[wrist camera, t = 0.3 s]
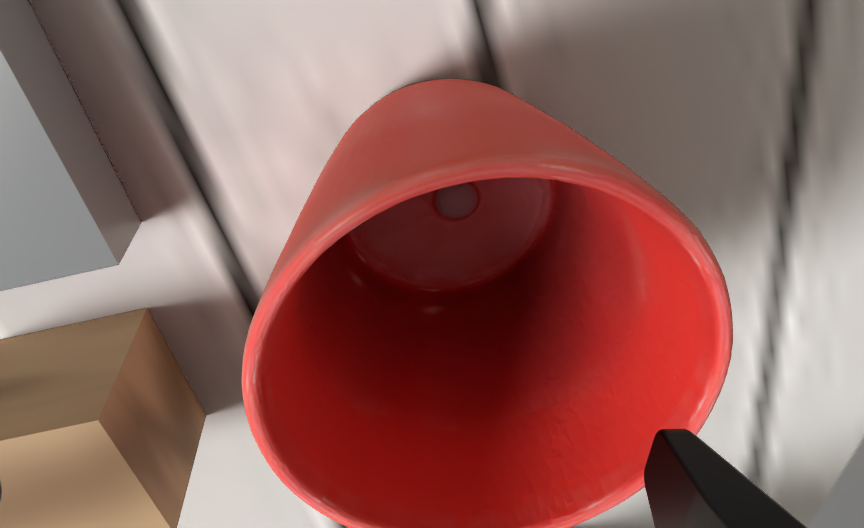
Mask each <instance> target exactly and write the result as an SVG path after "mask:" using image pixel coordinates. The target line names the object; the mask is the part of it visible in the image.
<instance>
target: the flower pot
mask: <svg viewBox="0 0 864 528" xmlns="http://www.w3.org/2000/svg"><path fill="white" fill-rule="evenodd" d="M732 344H733V324H732V311H731V304H730V298H729V293H728V289H727V285H726V281H725V278H724V275H723V273H722V270H721V268H720V266H719V264H718V261H717V259H716V257H715V256H714V254H713V252H712V250H711V248H710V246H709V245H708V243H707V242H706V240H705V239H704V237H703V236H702V234H701V233H700V231H699V230H698V229H697V228H696V227H695V226H694V225H693V223H692V222H691V221H690V220H689V219H688V218H687V217H686V216H685V215H684V214H683V213H682V212H681V211H680V210H679V209H678V208H677V207H676V206H675V205H674V204H673V203H672V202H671V201H669V200H668V199H667V198H666V197H665V196H664V195H662V194H661V193H660V192H659V191H657V190H656V189H655V188H653V187H652V186H651V185H650V184H648V183H647V182H646V181H644V180H643V179H642V178H641V177H639V176H638V175H637V174H635V173H634V172H633V171H632V170H630V169H629V168H628V167H626V166H625V165H624V164H622V163H621V162H620V161H618V160H617V159H615V158H614V157H613V156H611V155H610V154H608V153H607V152H605V151H604V150H602V149H601V148H600V147H598V146H597V145H595V144H594V143H592V142H591V141H589V140H588V139H586V138H585V137H583V136H582V135H580V134H579V133H577V132H576V131H574V130H572V129H571V128H569V127H568V126H566V125H565V124H563V123H562V122H560V121H558V120H557V119H555V118H553V117H551V116H549V115H548V114H546V113H544V112H542V111H541V110H539V109H537V108H535V107H534V106H532V105H530V104H528V103H527V102H525V101H523V100H522V99H520V98H518V97H516V96H515V95H513V94H511V93H509V92H507V91H505V90H503V89H501V88H498V87H496V86H493V85H490V84H486V83H482V82H478V81H473V80H466V79H439V80H430V81H425V82H420V83H416V84H413V85H410V86H407V87H404V88H401V89H399V90H397V91H395V92H393V93H391V94H389V95H387V96H386V97H384V98H382V99H381V100H379V101H378V102H376V103H375V104H374V105H372V106H371V107H370V108H369V109H368V110H366V111H365V112H364V113H363V114H362V115H361V116H360V117H358V119H357V120H356V121H355V122H354V123H353V124H352V126H351V127H350V128H349V129H348V131H347V132H346V133H345V135H344V136H343V138H342V139H341V141H340V142H339V144H338V146H337V147H336V149H335V150H334V152H333V154H332V155H331V157H330V158H329V160H328V162H327V163H326V165H325V167H324V169H323V171H322V172H321V174H320V176H319V178H318V180H317V182H316V184H315V186H314V188H313V190H312V192H311V194H310V196H309V198H308V200H307V202H306V203H305V205H304V207H303V209H302V211H301V213H300V215H299V217H298V219H297V222H296V224H295V226H294V228H293V230H292V232H291V234H290V236H289V238H288V240H287V242H286V245H285V247H284V249H283V251H282V253H281V255H280V257H279V259H278V261H277V263H276V265H275V268H274V270H273V272H272V274H271V276H270V279H269V281H268V283H267V285H266V288H265V290H264V292H263V294H262V296H261V299H260V301H259V304H258V306H257V309H256V311H255V313H254V316H253V319H252V322H251V325H250V328H249V331H248V335H247V339H246V343H245V348H244V354H243V363H242V394H243V401H244V406H245V412H246V416H247V419H248V422H249V425H250V428H251V431H252V434H253V436H254V439H255V441H256V443H257V445H258V447H259V449H260V451H261V453H262V454H263V456H264V458H265V459H266V461H267V463H268V464H269V466H270V467H271V468H272V470H273V471H274V472H275V473H276V475H277V476H278V477H279V478H280V480H281V481H282V482H283V483H284V484H285V485H286V486H287V487H288V488H289V489H290V490H291V491H292V492H293V493H294V494H296V495H297V496H298V497H299V498H300V499H302V500H303V501H304V502H306V503H307V504H308V505H310V506H311V507H312V508H314V509H316V510H317V511H319V512H320V513H322V514H324V515H325V516H327V517H329V518H331V519H332V520H334V521H336V522H338V523H340V524H342V525H345V526H347V527H349V528H570V527H572V526H575V525H577V524H580V523H582V522H584V521H586V520H589V519H591V518H593V517H595V516H597V515H599V514H601V513H603V512H605V511H607V510H609V509H611V508H613V507H614V506H616V505H618V504H620V503H621V502H623V501H625V500H626V499H628V498H629V497H631V496H632V495H634V494H635V493H637V492H638V491H639V490H641V489H642V488H644V487H645V483H644V469H645V465H646V462H647V459H648V456H649V453H650V449H651V446H652V443H653V440H654V437H655V434H656V433H657V432H658V431H659V430H661V429H687V430H689V431H691V432H692V433H694V434H695V435H697V434H698V432H699V431H700V429H701V428H702V426H703V425H704V423H705V421H706V420H707V418H708V416H709V414H710V413H711V411H712V409H713V407H714V405H715V403H716V400H717V398H718V396H719V394H720V392H721V389H722V386H723V383H724V381H725V378H726V375H727V371H728V367H729V363H730V359H731V351H732Z"/></svg>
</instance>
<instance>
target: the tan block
mask: <svg viewBox="0 0 864 528" xmlns="http://www.w3.org/2000/svg"><path fill="white" fill-rule="evenodd" d="M205 417H206V415H205V413H204V411H203V409H202V407H201V406H200V404H199V402H198V400H197V398H196V396H195V395H194V393H193V391H192V389H191V387H190V385H189V384H188V382H187V380H186V378H185V376H184V374H183V373H182V371H181V369H180V367H179V365H178V363H177V362H176V360H175V358H174V356H173V354H172V352H171V351H170V349H169V347H168V345H167V343H166V342H165V340H164V338H163V336H162V334H161V332H160V331H159V329H158V327H157V325H156V323H155V321H154V320H153V318H152V316H151V314H150V312H149V310H148V309H147V308H143V309H139V310H134V311H130V312H125V313H121V314H116V315H111V316H107V317H102V318H98V319H93V320H88V321H84V322H79V323H75V324H70V325H66V326H61V327H56V328H52V329H47V330H43V331H38V332H33V333H29V334H24V335H20V336H15V337H11V338H6V339H1V340H0V481H1V485H2V498H1V502H0V528H177V525H178V521H179V517H180V513H181V509H182V506H183V502H184V498H185V494H186V490H187V486H188V483H189V479H190V475H191V471H192V467H193V463H194V460H195V456H196V452H197V448H198V444H199V440H200V437H201V433H202V429H203V425H204V421H205Z"/></svg>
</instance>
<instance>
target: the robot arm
mask: <svg viewBox="0 0 864 528" xmlns="http://www.w3.org/2000/svg"><path fill="white" fill-rule="evenodd" d="M644 483H645V488H646V492H647V496H648V500H649V504H650V508H651V512H652V517H653V521H654V525H655V528H807V527H806V526H804V525H803V524H802V523H801V522H800V521H798V520H797V519H796V518H795V517H794V516H792V515H791V514H790V513H789V512H788V511H786V510H785V509H784V508H783V507H782V506H780V505H779V504H778V503H777V502H776V501H774V500H773V499H772V498H771V497H770V496H768V495H767V494H766V493H765V492H763V491H762V490H761V489H760V488H759V487H757V486H756V485H755V484H754V483H753V482H751V481H750V480H749V479H748V478H747V477H745V476H744V475H743V474H742V473H741V472H739V471H738V470H737V469H736V468H735V467H733V466H732V465H731V464H730V463H729V462H727V461H726V460H725V459H724V458H722V457H721V456H720V455H719V454H718V453H716V452H715V451H714V450H713V449H712V448H710V447H709V446H708V445H707V444H706V443H704V442H703V441H702V440H701V439H700V438H698V437H697V436H696V435H695V434H694V433H692V432H691V431H689V430H687V429H661V430H659V431H658V432H657V433H656V434H655V437H654V440H653V443H652V446H651V449H650V453H649V456H648V459H647V462H646V465H645V469H644ZM1 498H2V485H1V481H0V502H1Z"/></svg>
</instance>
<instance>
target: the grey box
mask: <svg viewBox="0 0 864 528" xmlns="http://www.w3.org/2000/svg"><path fill="white" fill-rule="evenodd" d="M140 224H141V222H140V220H139V218H138V216H137V214H136V212H135V210H134V208H133V206H132V204H131V202H130V200H129V198H128V196H127V194H126V192H125V190H124V188H123V186H122V184H121V182H120V180H119V179H118V177H117V175H116V173H115V171H114V169H113V167H112V165H111V163H110V161H109V159H108V157H107V155H106V153H105V151H104V149H103V147H102V145H101V143H100V141H99V139H98V137H97V135H96V133H95V131H94V129H93V127H92V125H91V123H90V121H89V119H88V117H87V116H86V114H85V112H84V110H83V108H82V106H81V104H80V102H79V100H78V98H77V96H76V94H75V92H74V90H73V88H72V86H71V84H70V82H69V80H68V78H67V76H66V74H65V72H64V70H63V68H62V66H61V64H60V62H59V60H58V58H57V56H56V55H55V53H54V51H53V49H52V47H51V45H50V43H49V41H48V39H47V37H46V35H45V33H44V31H43V29H42V27H41V25H40V23H39V21H38V19H37V17H36V15H35V13H34V11H33V9H32V7H31V5H30V3H29V1H28V0H0V291H3V290H7V289H12V288H16V287H21V286H25V285H30V284H35V283H39V282H44V281H48V280H53V279H57V278H62V277H66V276H71V275H75V274H80V273H84V272H89V271H93V270H98V269H102V268H107V267H111V266H116V265H119V263H120V261H121V260H122V258H123V256H124V254H125V252H126V250H127V248H128V247H129V245H130V243H131V241H132V239H133V237H134V235H135V234H136V232H137V230H138V228H139V226H140Z"/></svg>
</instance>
